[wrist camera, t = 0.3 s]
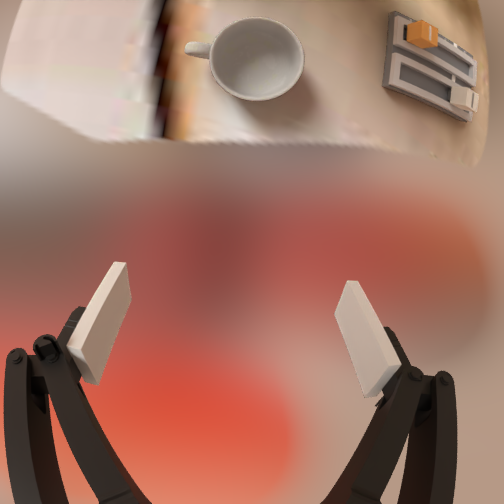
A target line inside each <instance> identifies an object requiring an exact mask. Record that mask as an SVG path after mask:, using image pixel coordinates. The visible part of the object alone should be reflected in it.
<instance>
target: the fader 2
mask: <svg viewBox="0 0 504 504" xmlns="http://www.w3.org/2000/svg"><path fill="white" fill-rule="evenodd" d="M447 100H449V101H450V103H451V104H452V105H454V106H456V107H458V108H460V109H461V110H467V111H472V112H476V113H477V108H478V100H479V95H478V94H477V93H475V92H474V91H473V90H471V89H469V88H468V87H459V86H452V89H451V90H448V96H447Z"/></svg>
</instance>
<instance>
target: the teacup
mask: <svg viewBox="0 0 504 504" xmlns="http://www.w3.org/2000/svg"><path fill="white" fill-rule="evenodd" d="M185 53H186V54H187V55H190V56H194V57H199V58H204V59H209V60H210V68H211V72H212V74H213V77H214V78H215V80H216V82H217V83H218V84H219V85H220V86H221V87H222V88H223V89H224V90H225V91H227V92H228V93H230V94H232V95H233V96H236V97H238V98H241V99H244V100H249V101H265V100H270V99H273V98H276V97H279V96H281V95H283V94H284V93H286V92H287V91H289V90H290V89H291V88H292V87H293V86H294V85H295V83H296V82H297V81H298V79H299V78H300V76H301V74H302V72H303V68H304V62H305V56H304V50H303V47H302V45H301V42H300V41H299V39H298V38H297V36H296V35H295V33H294V32H293V31H292V30H291V29H289V28H288V27H287V26H285V25H284V24H282V23H280V22H279V21H276V20H273V19H270V18H265V17H247V18H242V19H240V20H237V21H234V22H232V23H231V24H229V25H228V26H226V27H225V28H224V29H222V30H221V32H220V33H219V34H218V35H217V37H216V38H215V40H214V42H213V44H208V43H203V42H189V43H187V44H186V46H185Z"/></svg>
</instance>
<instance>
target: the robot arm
mask: <svg viewBox="0 0 504 504" xmlns="http://www.w3.org/2000/svg"><path fill="white" fill-rule="evenodd" d="M131 300H132V298H131V292H130V286H129V280H128V273H127V266H126V263H123V262H114V263H113V265H112V266H111V268H110V270H109V271H108V273H107V274H106V276H105V278H104V279H103V281H102V282H101V284H100V286H99V287H98V289H97V291H96V292H95V294H94V296H93V297H92V299H91V301H90V303H89V305H88V306H87V308H85V307H80V306H79V307H78V308H77V309H75V310H74V311H73V312H72V313H71V315H70V317H69V319H68V321H67V322H66V324H65V326H64V327H63V329H62V331H61V333H60V335H59V336H58V338H57V340H56V338H55V337H54V336H52V335H49V334H46V335H42V336H40V337H38V338H37V339H36V340H35V342H34V344H33V350H34V352H35V354H36V355H27V353H26V351H25V350H24V349H22V348H16V349H13V350H12V351H10V353H9V354H8V356H7V359H6V369H5V382H4V435H5V447H6V457H7V465H8V471H9V477H10V482H11V488H12V493H13V497H14V501H15V504H69V502H68V499H67V496H66V493H65V489H64V485H63V482H62V478H61V474H60V470H59V465H58V461H57V456H56V451H55V445H54V439H53V433H52V426H51V419H50V418H51V417H50V408H49V397H48V394H49V395H50V398H51V401H52V403H53V406H54V409H55V412H56V415H57V418H58V420H59V423H60V425H61V428H62V430H63V432H64V435H65V437H66V439H67V442H68V444H69V446H70V448H71V451H72V453H73V455H74V457H75V459H76V461H77V463H78V465H79V467H80V469H81V470H82V472H83V474H84V476H85V478H86V480H87V481H88V483H89V485H90V487H91V488H92V490H93V492H94V493H95V495H96V497H97V498H98V501H99V504H152V503H151V502H150V501H149V500H148V499H147V498H146V497H145V495H144V494H143V493H142V491H141V490H140V489H139V487H138V486H137V485H136V483H135V482H134V480H133V479H132V478H131V476H130V474H129V473H128V471H127V470H126V468H125V467H124V466H123V464H122V462H121V461H120V459H119V458H118V456H117V455H116V453H115V451H114V449H113V448H112V446H111V444H110V442H109V441H108V439H107V437H106V435H105V434H104V432H103V430H102V428H101V426H100V424H99V422H98V420H97V418H96V417H95V414H94V412H93V410H92V408H91V406H90V404H89V402H88V400H87V398H86V395H85V393H84V391H83V389H82V386H81V384H80V382H79V381H80V378H81V376H82V377H83V379H84V381H85V382H87V383H91V384H95V385H99V382H100V380H101V377H102V374H103V371H104V368H105V365H106V363H107V360H108V357H109V354H110V352H111V349H112V346H113V344H114V341H115V339H116V336H117V333H118V331H119V329H120V326H121V323H122V321H123V319H124V316H125V314H126V312H127V309H128V307H129V304H130V302H131ZM334 315H335V318H336V320H337V323H338V325H339V328H340V331H341V333H342V336H343V339H344V341H345V344H346V346H347V349H348V352H349V355H350V357H351V360H352V363H353V366H354V369H355V372H356V374H357V377H358V380H359V383H360V386H361V389H362V392H363V395H364V398H368V397H374V396H377V395H378V394H379V393H380V392H381V390H382V391H383V394H384V396H383V397H382V398H381V399H380V400H379V401H378V403H377V404H376V405H375V406H378V407H377V409H376V411H375V413H374V416H373V418H372V420H371V422H370V424H369V426H368V428H367V430H366V432H365V434H364V436H363V438H362V440H361V441H360V443H359V445H358V447H357V449H356V451H355V452H354V454H353V456H352V458H351V459H350V461H349V463H348V464H347V466H346V468H345V470H344V471H343V473H342V474H341V476H340V478H339V479H338V481H337V482H336V484H335V485H334V487H333V488H332V490H331V491H330V493H329V494H328V496H327V497H326V498H325V499H324V501H322V502H321V503H320V504H382V503H381V502H380V498H381V496H382V494H383V492H384V490H385V488H386V485H387V484H388V482H389V479H390V477H391V475H392V473H393V471H394V469H395V466H396V464H397V462H398V459H399V457H400V454H401V452H402V450H403V447H404V444H405V442H406V438H407V436H408V434H409V438H408V447H407V455H406V462H405V469H404V474H403V479H402V484H401V489H400V494H399V498H398V503H397V504H453V498H454V489H455V480H456V467H457V410H456V397H455V386H454V380H453V378H452V376H451V375H450V374H449V373H448V372H445V371H439V372H438V373H437V374H436V375H435V376H428V375H424V374H423V373H422V371H421V370H420V369H418V368H417V367H414V366H411V364H410V362H409V360H408V358H407V356H406V354H405V352H404V350H403V348H402V347H401V345H400V343H399V341H398V339H397V337H396V335H395V333H394V332H393V331H392V330H391V329H390V328H389V327H383V326H382V324H381V322H380V321H379V319H378V317H377V315H376V313H375V311H374V310H373V307H372V306H371V304H370V302H369V300H368V298H367V297H366V295H365V293H364V291H363V289H362V288H361V286H360V284H359V282H358V281H349V280H347V282H346V284H345V287H344V290H343V293H342V295H341V298H340V300H339V303H338V305H337V308H336V310H335V313H334Z"/></svg>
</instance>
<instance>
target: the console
mask: <svg viewBox="0 0 504 504" xmlns="http://www.w3.org/2000/svg"><path fill="white" fill-rule="evenodd" d="M414 22H417V21H415V20H413V19H411V18H409V17H407V16H405V15H403V14H401V13H399V12H396V11H393V12H391V13H389V22H388V37H387V49H386V59H385V68H384V76H383V84H382V86H383V87H386V88H388V89H391V90H394V91H396V92H399V93H402V94H404V95H407V96H409V97H411V98H414V99H416V100H418V101H421V102H423V103H425V104H427V105H430V106H432V107H434V108H436V109H438V110H440V111H442V112H444V113H446V114H448V115H450V116H452V117H454V118H456V119H458V120H459V121H463V122H467V121H469V122H471V121H472V115H473V112H472V111H467V110H461V109H460V108H458V107H456V106H454V105H452V104H451V103H450V101H449V100H447V96H448V90H451V89H452V86H459V87H468V88H469V89H471V87H476V76H477V62H476V61H475V60H474V59H473V56H472V55H471V54H469V53H468V52H466V51H465V50H464V49H462V48H461V47H459V46H458V45H457V44H455V43H453V42H452V41H450V40H448V39H447V38H445V37H444V36H442V35H440V34H439V33H438V46H437V47H430V48H423V49H422V48H420V47H418V46H416V45H414V44H412V43H410V42H408V41H407V40H405V39H404V37H405V30H406V29H407V24H410V23H414Z"/></svg>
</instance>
